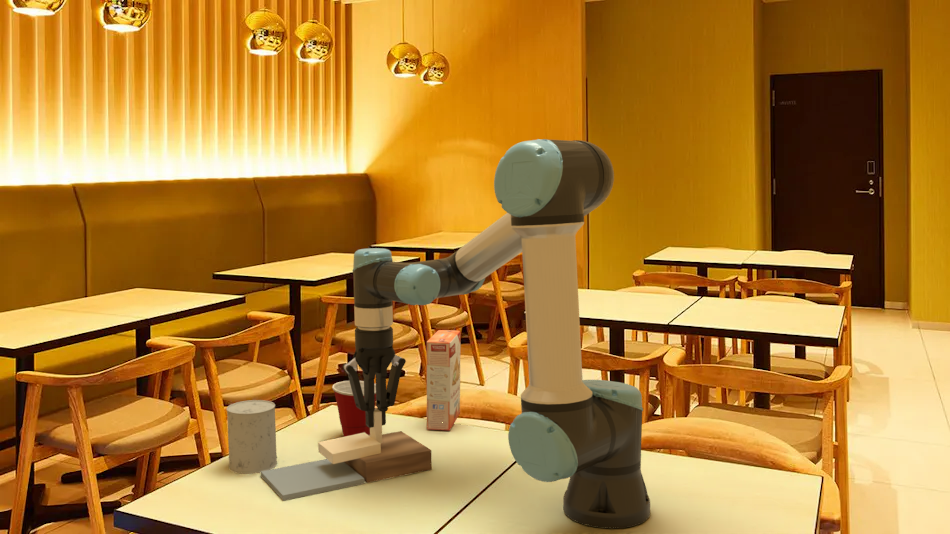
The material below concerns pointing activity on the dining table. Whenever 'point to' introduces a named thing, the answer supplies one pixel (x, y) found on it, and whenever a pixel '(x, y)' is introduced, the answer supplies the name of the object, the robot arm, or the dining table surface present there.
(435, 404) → the cracker box
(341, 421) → the plastic cup
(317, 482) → the mat
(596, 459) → the robot arm
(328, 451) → the tile
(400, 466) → the brown block
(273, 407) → the speckled stone pillar
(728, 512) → the dining table surface
